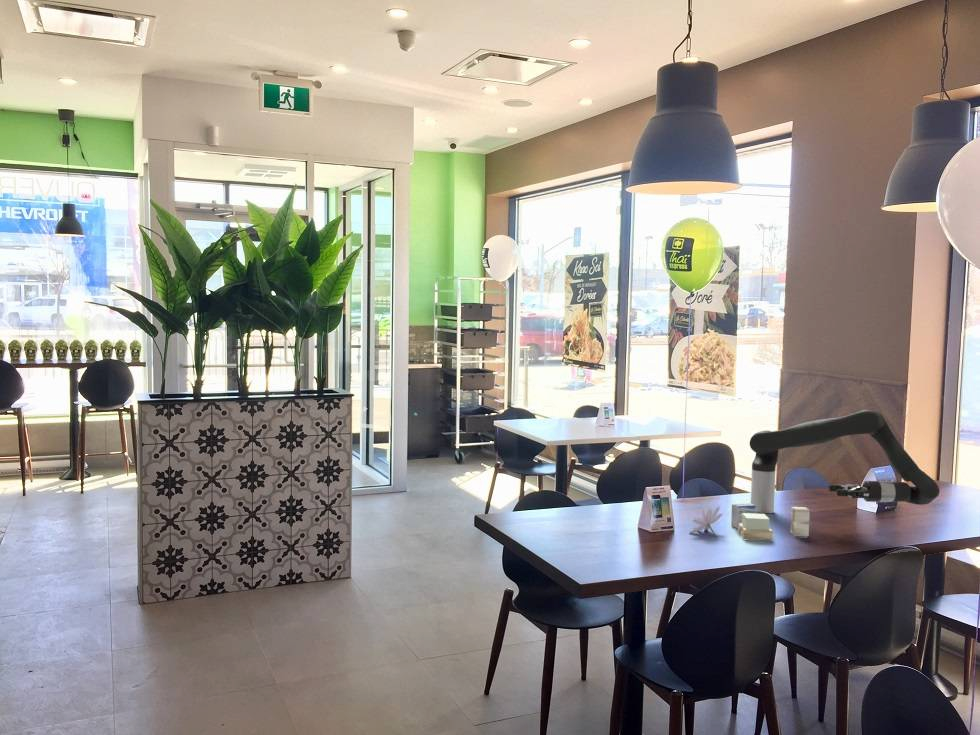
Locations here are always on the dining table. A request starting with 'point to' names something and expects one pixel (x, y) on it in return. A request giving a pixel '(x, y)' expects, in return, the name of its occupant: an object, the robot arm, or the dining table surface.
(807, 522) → the tall white block
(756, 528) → the tower top block
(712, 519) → the water lily
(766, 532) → the tower base block
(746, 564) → the dining table surface
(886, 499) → the robot arm
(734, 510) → the medicine box
